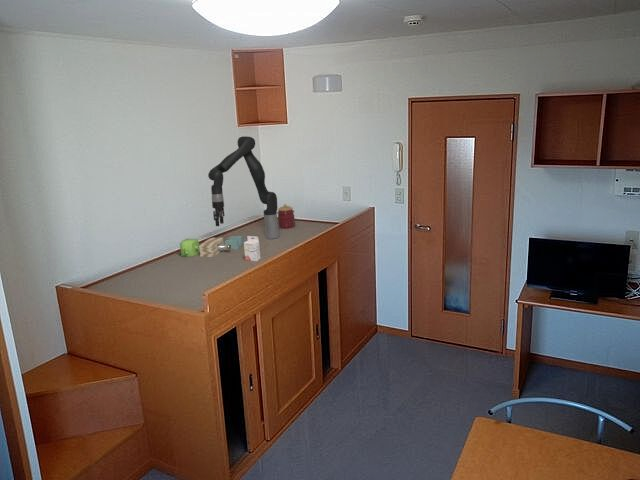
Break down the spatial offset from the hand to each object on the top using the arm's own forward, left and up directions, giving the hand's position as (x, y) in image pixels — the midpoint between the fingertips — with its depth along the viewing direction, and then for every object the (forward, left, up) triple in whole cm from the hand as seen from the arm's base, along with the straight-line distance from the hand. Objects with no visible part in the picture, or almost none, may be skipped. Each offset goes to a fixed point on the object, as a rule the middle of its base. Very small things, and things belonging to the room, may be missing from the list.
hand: (219, 224), depth 354 cm
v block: (-4, -11, -18) cm, 22 cm away
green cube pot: (+20, +7, -18) cm, 28 cm away
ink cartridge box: (-27, +21, -18) cm, 39 cm away
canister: (-28, -65, -18) cm, 73 cm away
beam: (+6, +3, -18) cm, 19 cm away
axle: (+3, +3, -16) cm, 16 cm away
